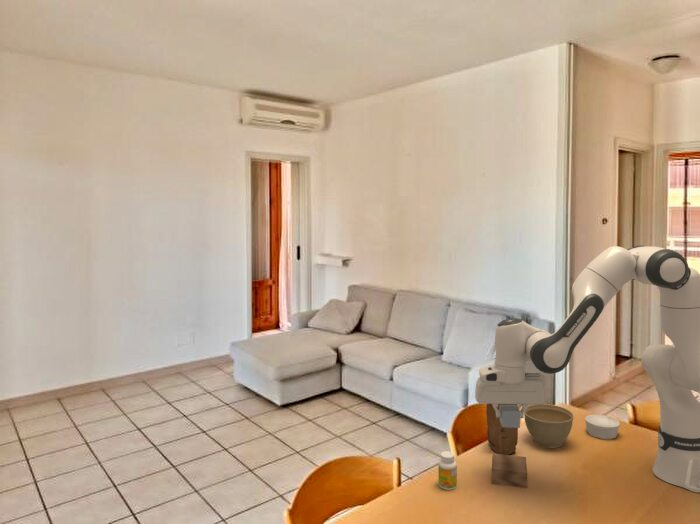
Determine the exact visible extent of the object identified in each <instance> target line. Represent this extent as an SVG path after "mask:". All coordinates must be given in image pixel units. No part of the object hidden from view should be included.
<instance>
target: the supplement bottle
mask: <svg viewBox="0 0 700 524" xmlns="http://www.w3.org/2000/svg"><path fill="white" fill-rule="evenodd" d="M456 461H457V460H455V453H454V452H452V451H450V450H449V451H446V450H444V451H442V452H441V453H440V459H439V460H438V462H437V463H438V464H437V465H438V468H437V469H438V486H439V487H440V488H441V489H442V490H447V491H449V490H450V491H451V490H455V489H456V488H457V486H458V478H457V477H458V472H457V471H458V470H457V469H458V464H457V462H456Z"/></svg>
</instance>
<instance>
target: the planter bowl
mask: <svg viewBox="0 0 700 524" xmlns="http://www.w3.org/2000/svg"><path fill="white" fill-rule="evenodd" d="M573 420H574V413H573V412H572V411H570V410H569V409H567V408H565V407H563V406H559V405H555V404H548V403H547V404H546V403H544V404H543V405H534V404H529V405H528V408H527V409H526V411H525V412H524V422H525V426H526V429H527V431H528V433H529V435H530V436H531V437H532V438H533V442H534V443H535V444H536V445H538V446H541V447H543V448H547V449H558V448H560V447H561V446H563V444H564V441H565V440H567V438H568V437H569V435H570V433H571V430H572V427H573Z"/></svg>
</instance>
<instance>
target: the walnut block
mask: <svg viewBox="0 0 700 524" xmlns="http://www.w3.org/2000/svg"><path fill="white" fill-rule="evenodd" d="M491 460H492V461H491V484H493V485H501V486H508V487H516V488H522V489H523V488H525V489H527V488H528V468H527V467H528V466H527V465H528V464H527V457H526V456H520V455H513V454H512V455H511V454H507V455H505V454H499V453H496V452H495V453H492V458H491Z"/></svg>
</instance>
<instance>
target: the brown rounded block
mask: <svg viewBox="0 0 700 524" xmlns="http://www.w3.org/2000/svg"><path fill="white" fill-rule="evenodd" d="M500 405H517V406H518V404H498V407H496V408H497V409H498V410H500ZM485 408H486V409H485V411H486V424H487V425H486V426H487V430H486V431H487V432H486V433H487V434H486V435H487V442H488V444H489V446H490V448H491V449H492V450H493V451H494V452H495V453H496V454H504V455H511V454H512V455H513V453H514V452H515V451H516V450H517V446H518V442H519V440H518V436H519V433H518V432H519V428H509V427H502V425H501V422H500V418H497V417H496V411H495V409H494V408H493V405H492V404H486V407H485Z"/></svg>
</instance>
